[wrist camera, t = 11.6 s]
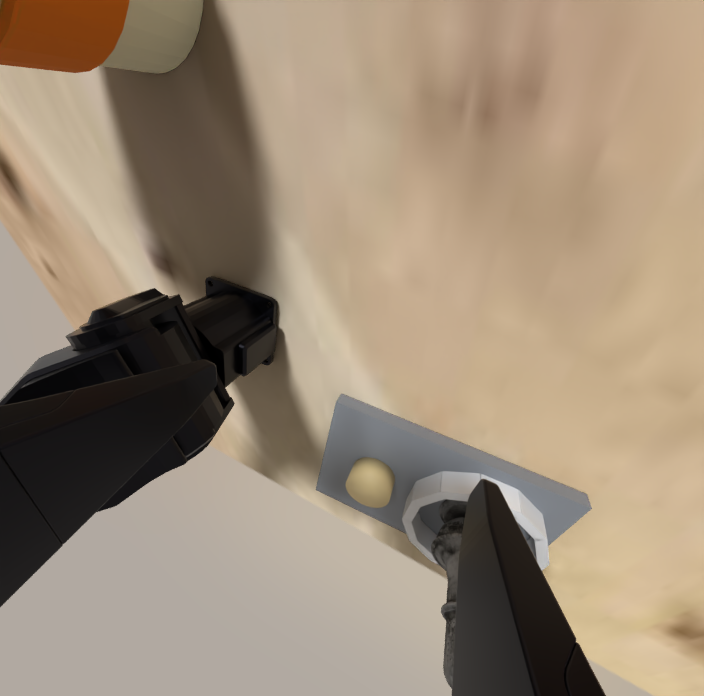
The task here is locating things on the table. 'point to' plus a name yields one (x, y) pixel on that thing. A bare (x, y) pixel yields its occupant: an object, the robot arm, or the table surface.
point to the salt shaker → (449, 570)
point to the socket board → (424, 461)
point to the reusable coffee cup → (98, 34)
